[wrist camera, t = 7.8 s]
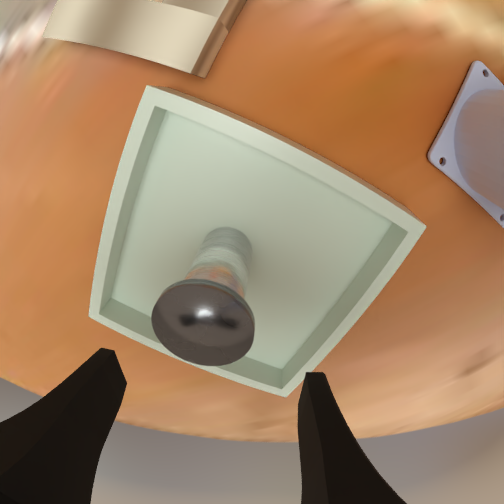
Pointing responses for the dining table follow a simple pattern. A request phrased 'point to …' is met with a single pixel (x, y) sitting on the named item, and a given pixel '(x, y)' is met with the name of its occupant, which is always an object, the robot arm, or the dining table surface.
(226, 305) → the steel pin
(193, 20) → the pin block
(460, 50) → the dining table surface
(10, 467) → the robot arm
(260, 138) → the tray
